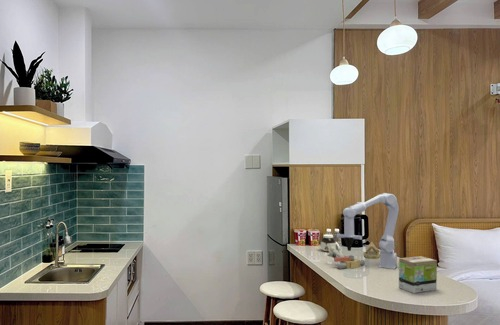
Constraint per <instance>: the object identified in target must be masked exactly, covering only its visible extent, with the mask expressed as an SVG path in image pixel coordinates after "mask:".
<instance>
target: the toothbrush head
mask: <svg viewBox="0 0 500 325" xmlns="http://www.w3.org/2000/svg"><path fill="white" fill-rule="evenodd" d="M328 256H330V257H333V258H339V257H349V255H346V254H344V253H342V252H341V251H338V250H336V248H335V247H331V248H330V251H329V255H328Z"/></svg>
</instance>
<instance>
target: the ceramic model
mask: <svg viewBox="0 0 500 325" xmlns="http://www.w3.org/2000/svg"><path fill="white" fill-rule="evenodd" d="M365 249H366V250H365V252H364V253H363V257H364V258H366V259H378V258H380V250H379V249H378V248H377V247H376V245H375V244H374V242H373V241H370V243H369V244H368V245H367V246H366V247H365Z"/></svg>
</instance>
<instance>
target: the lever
mask: <svg viewBox="0 0 500 325" xmlns="http://www.w3.org/2000/svg"><path fill="white" fill-rule="evenodd" d="M354 259H355V256H354V255H348V257H333V261H334V262H342V261H354Z"/></svg>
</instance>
